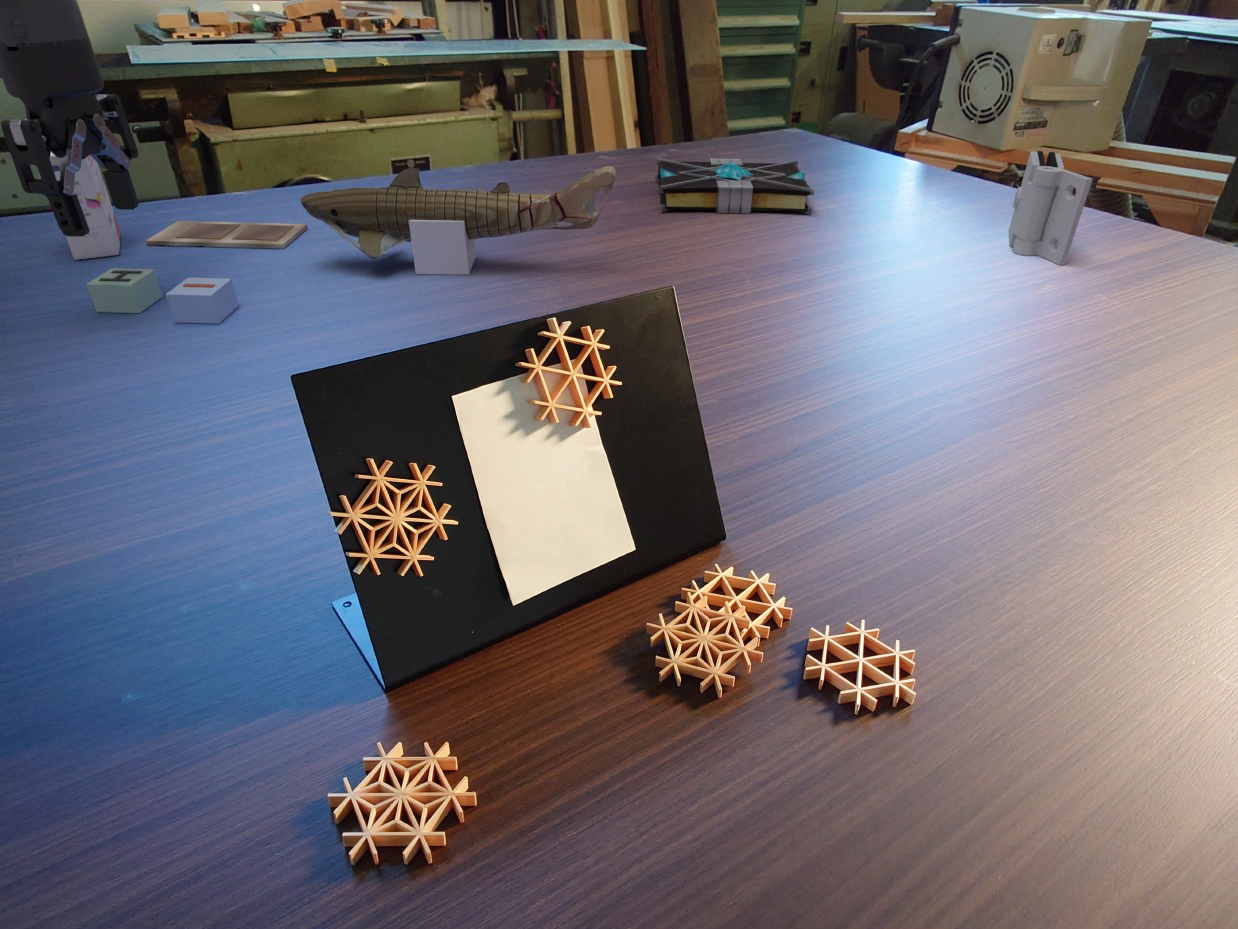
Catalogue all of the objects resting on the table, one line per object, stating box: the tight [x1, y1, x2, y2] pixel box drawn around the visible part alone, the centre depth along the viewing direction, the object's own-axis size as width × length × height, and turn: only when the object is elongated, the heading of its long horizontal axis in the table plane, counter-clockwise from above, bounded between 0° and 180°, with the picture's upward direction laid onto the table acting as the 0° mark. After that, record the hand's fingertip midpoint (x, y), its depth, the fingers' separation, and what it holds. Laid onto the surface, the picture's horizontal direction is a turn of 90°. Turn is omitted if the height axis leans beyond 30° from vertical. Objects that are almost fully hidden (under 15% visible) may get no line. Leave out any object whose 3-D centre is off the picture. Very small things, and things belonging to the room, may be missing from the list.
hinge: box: [1008, 150, 1094, 266], centre depth 100 cm, size 14×5×10 cm, turn 171°
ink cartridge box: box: [50, 152, 122, 261], centre depth 94 cm, size 9×5×15 cm, turn 26°
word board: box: [145, 220, 309, 250], centre depth 101 cm, size 17×8×1 cm, turn 88°
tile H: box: [86, 267, 164, 314], centre depth 83 cm, size 4×4×3 cm
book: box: [655, 157, 816, 215], centre depth 118 cm, size 22×17×5 cm
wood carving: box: [300, 165, 617, 276], centre depth 91 cm, size 9×35×11 cm, turn 91°
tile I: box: [165, 277, 239, 325], centre depth 81 cm, size 4×4×3 cm
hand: (103, 221), depth 79 cm, fingers open, 8 cm apart
